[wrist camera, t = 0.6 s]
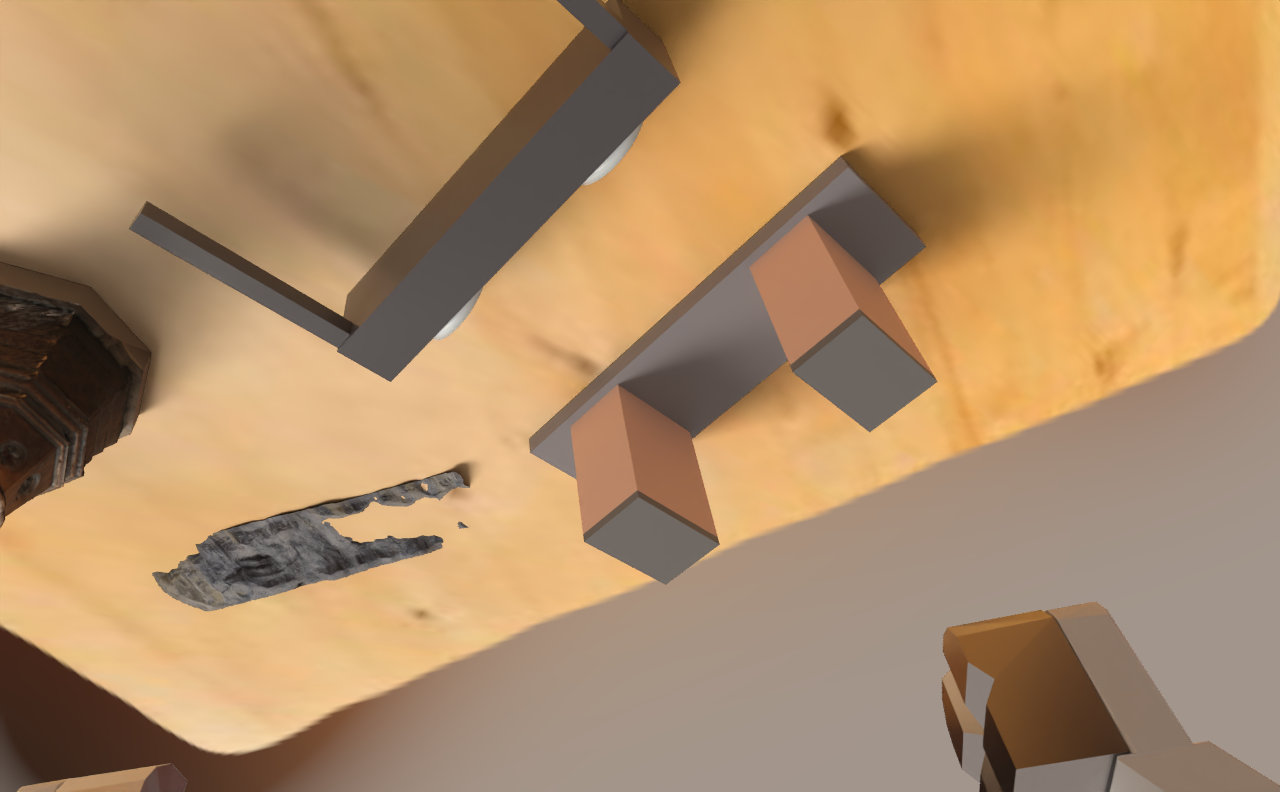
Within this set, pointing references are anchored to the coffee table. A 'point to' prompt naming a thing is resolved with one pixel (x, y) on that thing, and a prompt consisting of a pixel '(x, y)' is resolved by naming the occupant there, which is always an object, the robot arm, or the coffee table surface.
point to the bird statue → (60, 382)
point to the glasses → (472, 198)
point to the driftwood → (295, 550)
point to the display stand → (739, 368)
